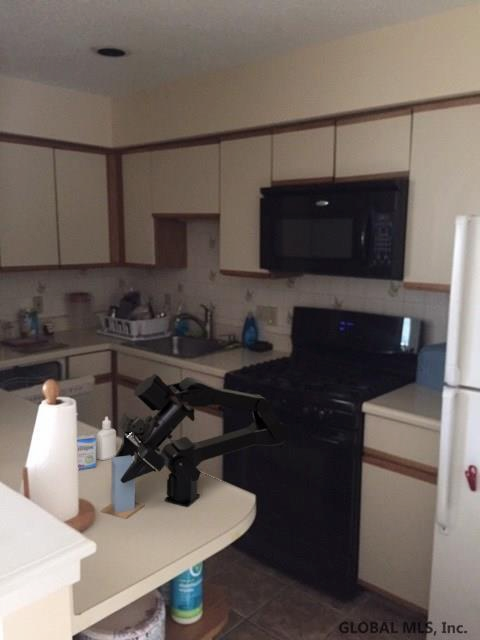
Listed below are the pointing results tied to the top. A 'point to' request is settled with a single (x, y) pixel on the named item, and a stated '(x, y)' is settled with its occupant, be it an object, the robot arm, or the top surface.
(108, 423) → the eye dropper bottle
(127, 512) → the pen stand
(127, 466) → the tall blue pillar
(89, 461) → the medicine box
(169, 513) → the top surface
